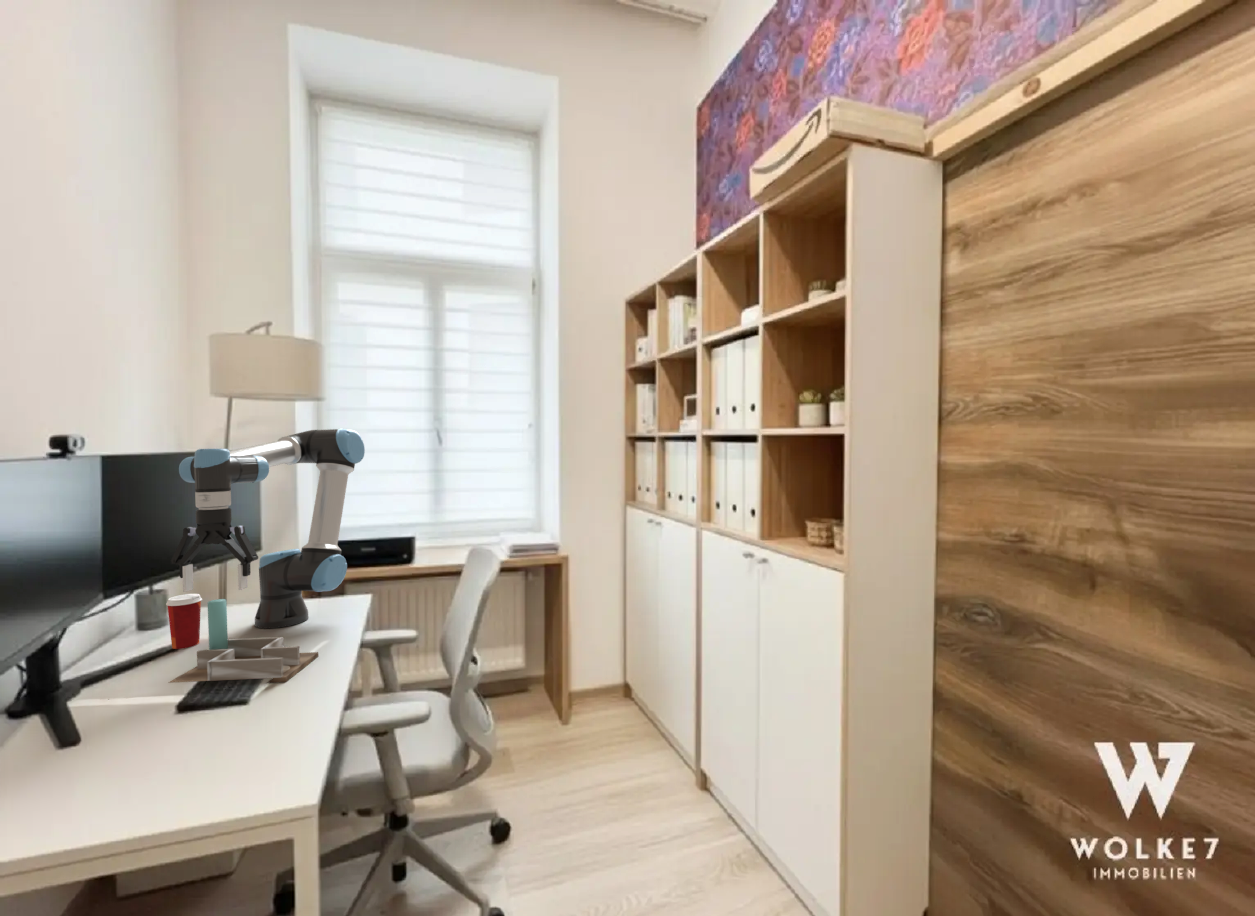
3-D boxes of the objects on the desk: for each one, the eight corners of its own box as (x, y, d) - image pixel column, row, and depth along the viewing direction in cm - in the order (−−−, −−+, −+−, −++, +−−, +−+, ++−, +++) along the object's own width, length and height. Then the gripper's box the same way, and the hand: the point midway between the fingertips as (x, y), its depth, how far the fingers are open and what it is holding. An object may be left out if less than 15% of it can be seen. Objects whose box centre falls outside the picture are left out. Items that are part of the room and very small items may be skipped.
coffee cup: (211, 644, 168) (209, 593, 168) (186, 654, 160) (184, 600, 159) (184, 643, 169) (182, 593, 169) (159, 654, 161) (157, 600, 160)
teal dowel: (216, 659, 152) (213, 599, 152) (231, 658, 153) (229, 598, 152) (206, 665, 148) (203, 603, 148) (222, 664, 149) (220, 602, 148)
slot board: (214, 660, 155) (213, 639, 155) (318, 656, 157) (317, 635, 156) (168, 687, 138) (167, 663, 138) (285, 682, 140) (285, 658, 140)
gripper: (152, 510, 145) (154, 594, 145) (255, 508, 147) (257, 591, 147) (173, 507, 152) (175, 587, 153) (271, 505, 154) (273, 584, 154)
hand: (215, 589), depth 150 cm, fingers open, 13 cm apart
